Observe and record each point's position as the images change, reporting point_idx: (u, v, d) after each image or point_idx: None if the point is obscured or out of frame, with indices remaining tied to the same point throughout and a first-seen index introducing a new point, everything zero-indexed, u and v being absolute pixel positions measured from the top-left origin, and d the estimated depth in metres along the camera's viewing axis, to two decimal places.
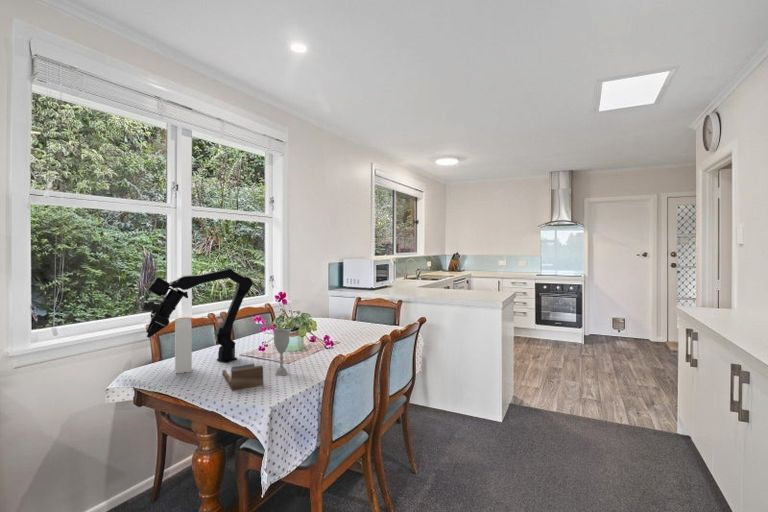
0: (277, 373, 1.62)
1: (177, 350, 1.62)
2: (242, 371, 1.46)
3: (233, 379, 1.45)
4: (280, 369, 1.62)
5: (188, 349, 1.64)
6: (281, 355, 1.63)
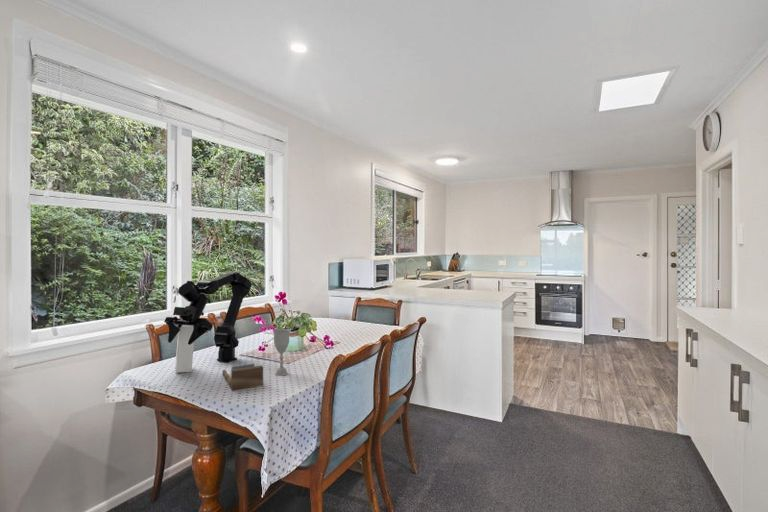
0: (277, 373, 1.62)
1: (179, 349, 1.62)
2: (242, 371, 1.46)
3: (233, 379, 1.45)
4: (280, 369, 1.62)
5: (190, 349, 1.64)
6: (281, 355, 1.63)
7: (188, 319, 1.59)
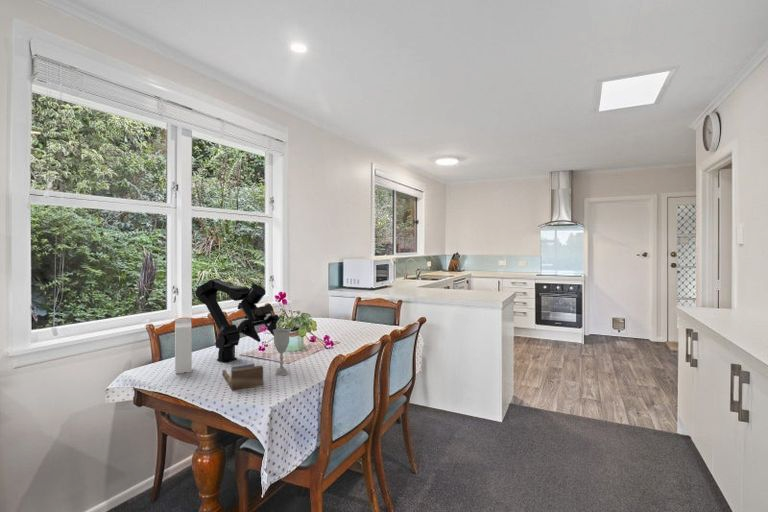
0: (277, 373, 1.62)
1: (177, 350, 1.62)
2: (242, 371, 1.46)
3: (233, 379, 1.45)
4: (280, 369, 1.62)
5: (188, 349, 1.64)
6: (281, 355, 1.63)
7: (257, 320, 1.70)
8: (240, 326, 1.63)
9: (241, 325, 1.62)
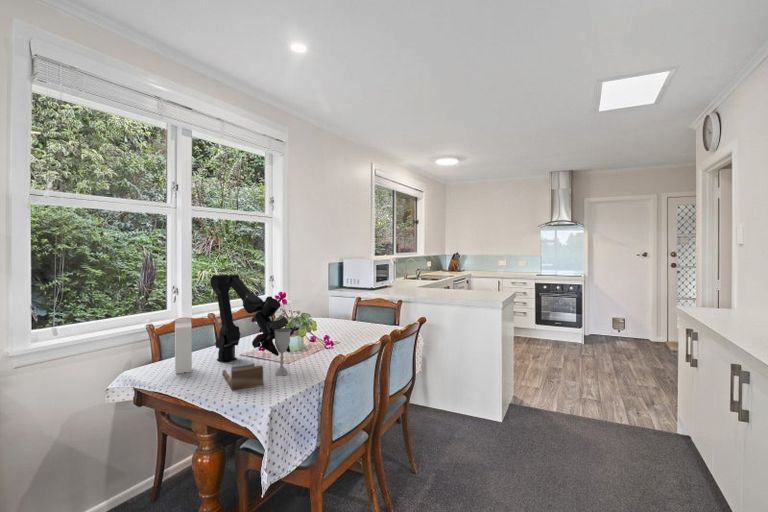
0: (277, 373, 1.62)
1: (177, 350, 1.62)
2: (242, 371, 1.46)
3: (233, 379, 1.45)
4: (280, 369, 1.62)
5: (188, 349, 1.64)
6: (281, 355, 1.63)
7: (272, 333, 1.66)
8: (255, 340, 1.58)
9: (256, 339, 1.58)
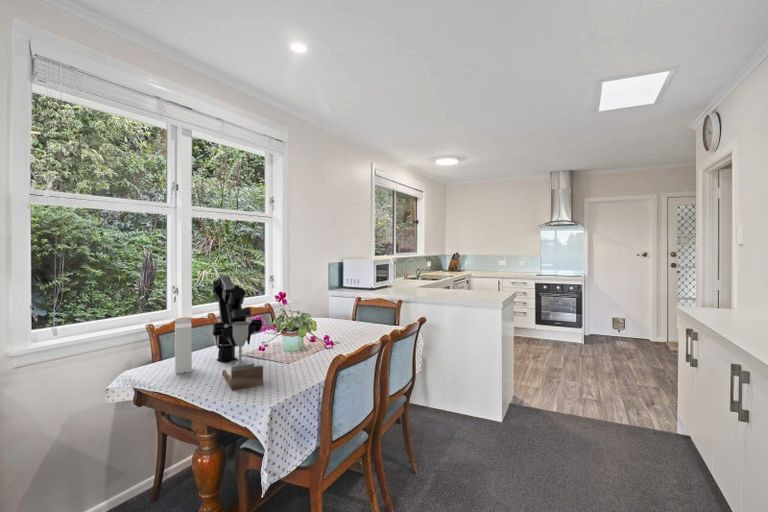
0: None
1: (177, 350, 1.62)
2: (242, 371, 1.46)
3: (233, 379, 1.45)
4: (237, 363, 1.58)
5: (188, 349, 1.64)
6: (239, 349, 1.58)
7: None
8: (213, 328, 1.57)
9: (213, 327, 1.57)
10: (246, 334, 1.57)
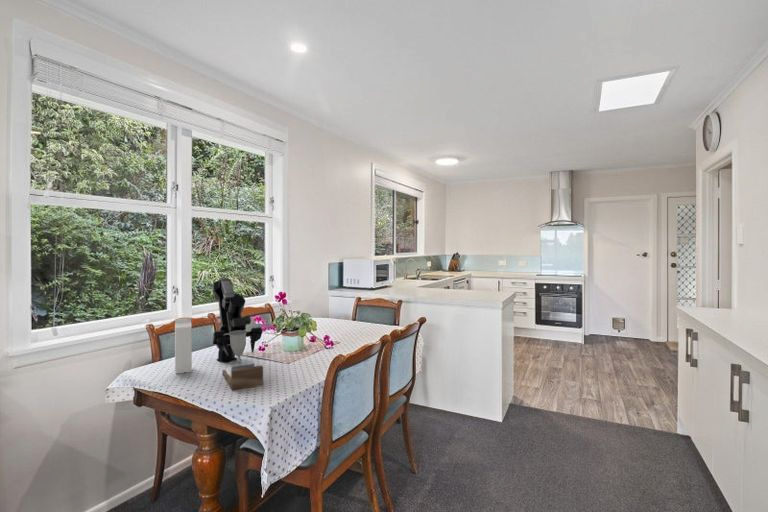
0: None
1: (177, 350, 1.62)
2: (242, 371, 1.46)
3: (233, 379, 1.45)
4: None
5: (188, 349, 1.64)
6: (238, 358, 1.58)
7: None
8: (213, 337, 1.57)
9: (213, 336, 1.57)
10: (244, 343, 1.57)
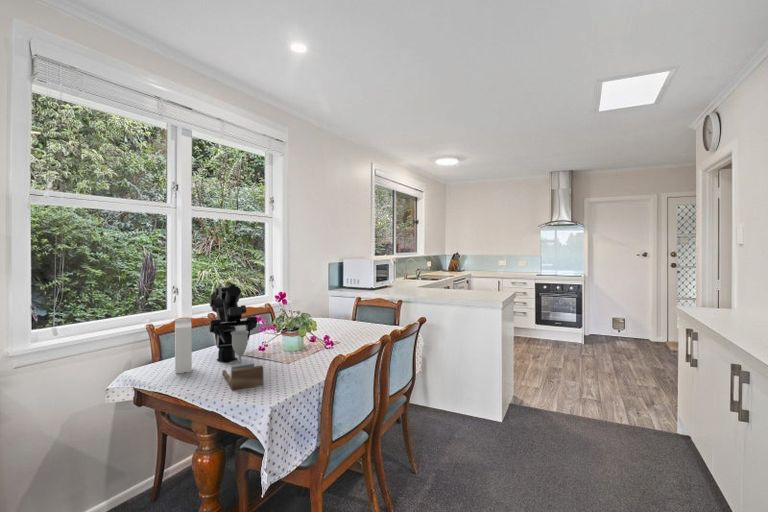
0: None
1: (177, 350, 1.62)
2: (242, 371, 1.46)
3: (233, 379, 1.45)
4: None
5: (188, 349, 1.64)
6: (239, 358, 1.58)
7: (232, 320, 1.69)
8: (210, 325, 1.64)
9: (210, 324, 1.64)
10: (245, 343, 1.57)
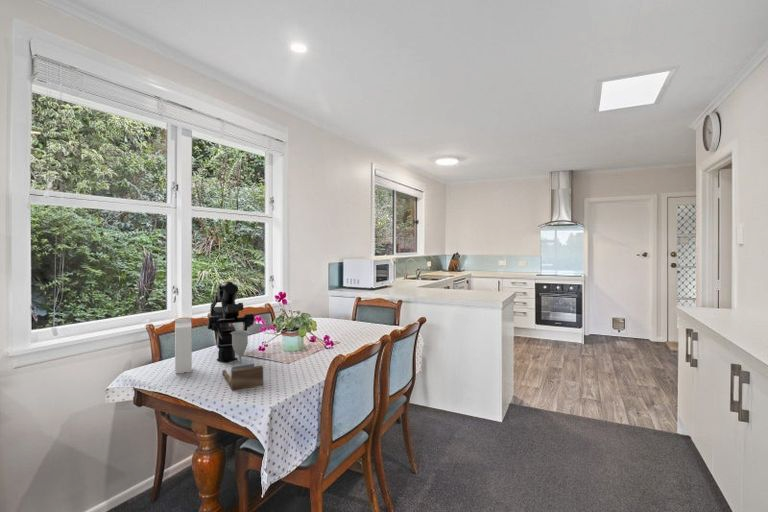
0: None
1: (177, 350, 1.62)
2: (242, 371, 1.46)
3: (233, 379, 1.45)
4: None
5: (188, 349, 1.64)
6: (239, 358, 1.58)
7: (230, 317, 1.73)
8: (208, 322, 1.68)
9: (208, 321, 1.68)
10: (245, 343, 1.57)
